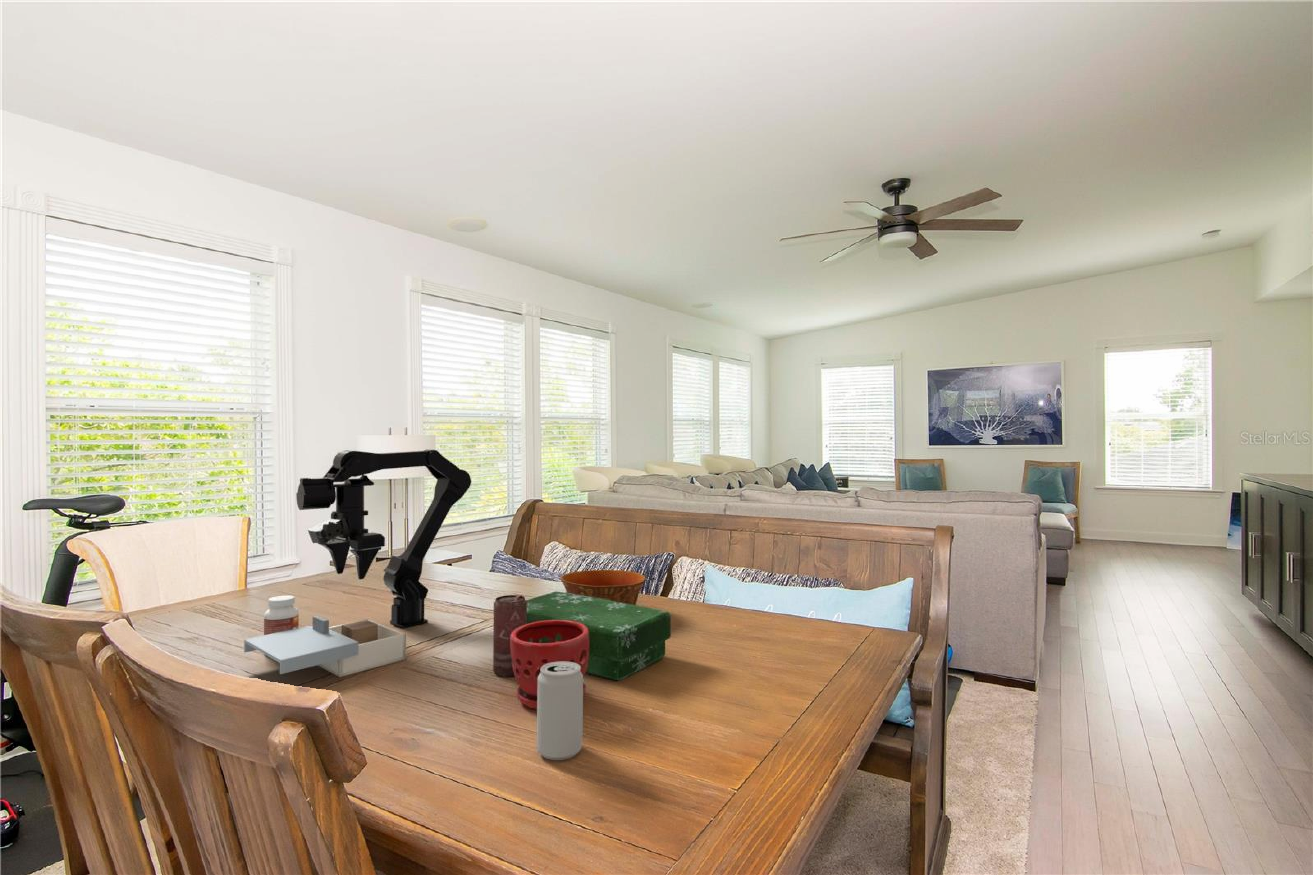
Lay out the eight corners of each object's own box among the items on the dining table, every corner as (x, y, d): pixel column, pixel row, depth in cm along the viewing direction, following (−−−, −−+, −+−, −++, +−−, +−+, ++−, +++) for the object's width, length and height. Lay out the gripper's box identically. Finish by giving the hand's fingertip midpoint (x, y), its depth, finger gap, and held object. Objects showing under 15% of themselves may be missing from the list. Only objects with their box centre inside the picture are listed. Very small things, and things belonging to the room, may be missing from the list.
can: (532, 668, 126) (533, 595, 126) (515, 679, 120) (515, 603, 120) (505, 664, 128) (506, 592, 128) (486, 675, 122) (487, 600, 122)
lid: (318, 635, 134) (318, 611, 134) (358, 654, 123) (358, 628, 123) (244, 652, 124) (244, 626, 124) (280, 674, 113) (280, 645, 113)
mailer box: (367, 642, 141) (367, 619, 141) (405, 659, 131) (405, 634, 131) (303, 657, 131) (303, 632, 131) (339, 677, 121) (339, 650, 121)
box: (673, 659, 133) (673, 609, 133) (618, 687, 118) (619, 631, 118) (556, 632, 151) (557, 588, 151) (496, 653, 135) (496, 605, 135)
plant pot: (520, 685, 118) (520, 618, 118) (593, 686, 117) (593, 619, 117) (500, 716, 105) (501, 641, 105) (583, 717, 104) (583, 642, 104)
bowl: (598, 601, 178) (598, 564, 178) (662, 614, 166) (662, 574, 166) (542, 618, 161) (542, 577, 161) (608, 634, 149) (609, 590, 149)
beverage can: (538, 742, 96) (539, 660, 96) (583, 740, 96) (583, 659, 96) (534, 764, 90) (535, 675, 90) (581, 762, 90) (582, 674, 90)
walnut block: (341, 654, 132) (341, 624, 132) (366, 648, 135) (366, 619, 135) (352, 660, 128) (352, 629, 128) (377, 654, 132) (377, 624, 132)
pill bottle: (299, 653, 134) (300, 599, 134) (264, 659, 130) (265, 603, 130) (296, 645, 139) (297, 592, 139) (262, 650, 135) (263, 596, 135)
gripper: (293, 507, 146) (293, 577, 146) (335, 513, 135) (335, 589, 135) (342, 502, 155) (342, 568, 155) (386, 508, 144) (386, 579, 144)
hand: (350, 576), depth 147 cm, fingers open, 9 cm apart
